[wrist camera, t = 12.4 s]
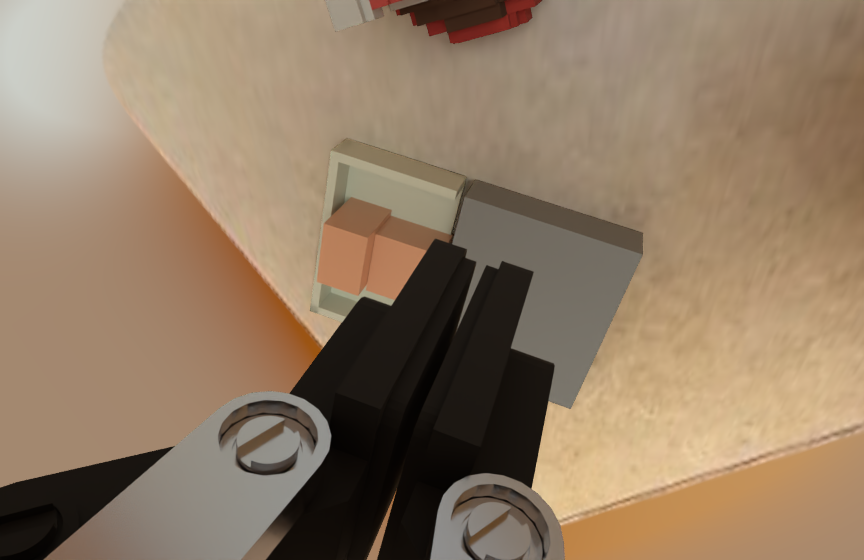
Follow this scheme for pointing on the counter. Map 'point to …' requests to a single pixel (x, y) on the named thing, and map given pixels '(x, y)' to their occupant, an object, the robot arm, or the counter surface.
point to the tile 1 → (350, 245)
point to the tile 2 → (398, 254)
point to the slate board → (552, 275)
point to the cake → (438, 15)
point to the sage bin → (383, 204)
